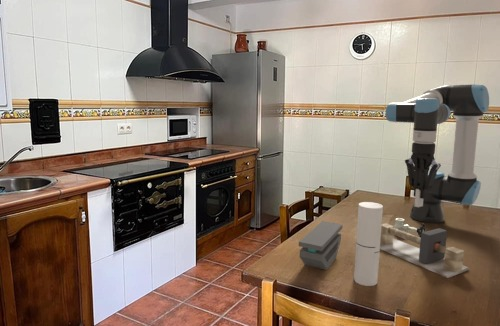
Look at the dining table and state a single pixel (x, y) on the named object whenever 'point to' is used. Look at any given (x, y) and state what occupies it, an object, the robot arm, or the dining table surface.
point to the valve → (401, 226)
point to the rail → (411, 253)
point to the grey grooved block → (321, 245)
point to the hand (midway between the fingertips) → (418, 206)
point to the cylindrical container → (368, 243)
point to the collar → (431, 245)
